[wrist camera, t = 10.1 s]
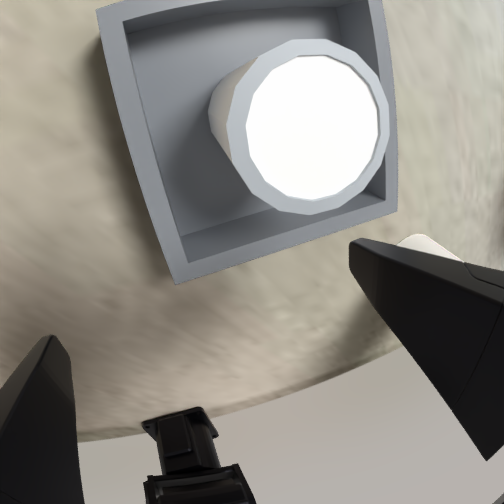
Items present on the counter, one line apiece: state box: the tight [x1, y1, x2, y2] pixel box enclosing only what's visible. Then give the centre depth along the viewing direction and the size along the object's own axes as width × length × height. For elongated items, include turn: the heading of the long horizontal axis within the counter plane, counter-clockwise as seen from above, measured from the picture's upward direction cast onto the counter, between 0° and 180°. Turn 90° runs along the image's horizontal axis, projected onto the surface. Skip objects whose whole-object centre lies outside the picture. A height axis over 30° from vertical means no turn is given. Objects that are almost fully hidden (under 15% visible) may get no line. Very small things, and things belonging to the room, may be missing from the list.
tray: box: [96, 0, 398, 285], centre depth 16 cm, size 14×14×4 cm
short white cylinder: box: [208, 39, 390, 215], centre depth 14 cm, size 7×7×7 cm
